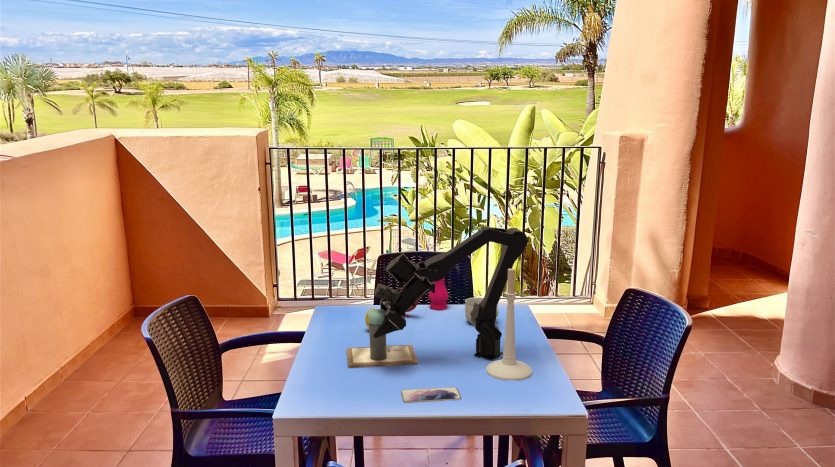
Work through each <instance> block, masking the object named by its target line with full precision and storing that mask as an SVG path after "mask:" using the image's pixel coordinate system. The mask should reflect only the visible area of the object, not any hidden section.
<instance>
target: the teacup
mask: <svg viewBox="0 0 835 467" xmlns="http://www.w3.org/2000/svg"><path fill="white" fill-rule="evenodd" d="M483 299H484V297H469V298H466V299H465V300H464V314H465V318H466V320H467V321H469V323H470V324H472V322H471V315H470V313H471V312H472V310H473V307H474V303H475V302H476V303H478V304H480V302H481V301H482V300H483ZM499 313H500V311H499V307H497V315H496V319H497V317H499Z"/></svg>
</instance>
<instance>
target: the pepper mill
mask: <svg viewBox="0 0 835 467" xmlns="http://www.w3.org/2000/svg"><path fill="white" fill-rule="evenodd" d="M432 282H434V283H435V284H436V286H435V293H432V292H431V291H430V290H429V293H428V299H429V300H430V301H431V302H429V303H430V304H429V308H430V309H431V308H432V309H431V310H433V309H434V311H443V310H442V309H445V310H446V309H447V308H448V303H447V301H448V299H449V293H448V289H447V287H446V285H445V277H444V278H443V279H442V280H440V281H437V282H436V281H432Z"/></svg>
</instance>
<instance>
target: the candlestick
mask: <svg viewBox="0 0 835 467" xmlns="http://www.w3.org/2000/svg"><path fill="white" fill-rule="evenodd" d="M506 285H507V290H506V291H503V292H504V295H505V300H506V302H507V304H506V312H505V313H506V314H505V326H504V342H503V352H502V353H503V355H502V356H503V357H502V359H498V360H493V361H492V362H491V363H489V364H487V366H486V368H485V373H486V374H487V375H488V374H489V375H488V376H490V377H491V376H492V377H491V378H493V377H494V379H496V378H497V380H500V379H501V381H507V380H510V381H509V382H511V380H513V381H512V382H514V381H515V380H517V381H522V380H526V379H529V378H530V377H531V376H532V375H533V369H532V368H531V367H530V366H529V365H528V364H526V363H525V362H523V361H520V360H517V358H516V357H517V354H516V330H515V329H516V328H515V327H516V326H515V324H516V323H515V305H514V304H515V303H514V302H515V300H516V296H517V294H518V292H516V288H515V287H516V286H515V285H516V269H515V268H513V267H512V268H511V269H508V280H507V283H506ZM528 377H529V378H528Z"/></svg>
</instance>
